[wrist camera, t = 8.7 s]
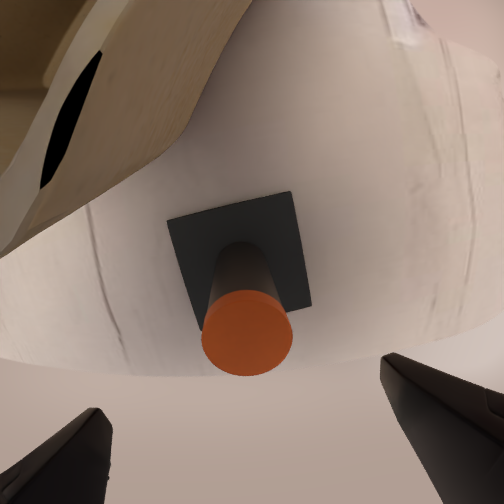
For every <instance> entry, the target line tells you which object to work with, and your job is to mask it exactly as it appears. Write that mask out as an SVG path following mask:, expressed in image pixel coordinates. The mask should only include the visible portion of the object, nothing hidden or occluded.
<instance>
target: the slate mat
mask: <svg viewBox="0 0 504 504" xmlns="http://www.w3.org/2000/svg"><path fill="white" fill-rule="evenodd" d="M167 225H168V229H169V232H170V236H171V239H172V243H173V246H174V250H175V253H176V257H177V260H178V263H179V267H180V270H181V273H182V276H183V279H184V283H185V286H186V289H187V292H188V295H189V298H190V301H191V304H192V307H193V310H194V313H195V316H196V319H197V322H198V325H199V328H200V330H201V331H202V330H203V324H204V319H205V316H206V313H207V309H208V304H209V299H210V293H211V288H212V283H213V277H214V272H215V267H216V262H217V258H218V256H219V254H220V252H221V251H222V250H223V249H224V248H225V247H226V246H228V245H230V244H232V243H235V242H248V243H251V244H253V245H255V246H256V247H258V248H259V249H260V250H261V251H262V253H263V254H264V257H265V259H266V262H267V265H268V268H269V270H270V273H271V276H272V279H273V282H274V284H275V287H276V290H277V293H278V296H279V298H280V301H281V304H282V307H283V308H284V310H285V312H290V311H294V310H298V309H302V308H306V307H310V306H312V303H311V296H310V290H309V284H308V278H307V272H306V267H305V261H304V255H303V250H302V244H301V239H300V234H299V228H298V223H297V218H296V213H295V208H294V203H293V198H292V194H291V191H288V192H283V193H279V194H274V195H269V196H265V197H260V198H256V199H252V200H247V201H243V202H239V203H235V204H230V205H226V206H222V207H218V208H214V209H210V210H206V211H202V212H198V213H194V214H190V215H186V216H183V217H179V218H175V219H171V220H168V221H167Z"/></svg>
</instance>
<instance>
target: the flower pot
mask: <svg viewBox="0 0 504 504" xmlns="http://www.w3.org/2000/svg"><path fill="white" fill-rule="evenodd" d="M252 1H253V0H0V258H2V257H4V256H5V255H7V254H9V253H10V252H11V251H13V250H14V249H16V248H17V247H19V246H20V245H22V244H23V243H25V242H26V241H28V240H29V239H31V238H32V237H34V236H35V235H37V234H38V233H40V232H42V231H43V230H45V229H46V228H48V227H50V226H51V225H53V224H54V223H56V222H58V221H59V220H61V219H63V218H64V217H66V216H68V215H70V214H71V213H73V212H74V211H76V210H77V209H79V208H80V207H82V206H83V205H85V204H87V203H88V202H90V201H91V200H93V199H95V198H96V197H98V196H99V195H101V194H103V193H104V192H106V191H107V190H109V189H110V188H112V187H113V186H115V185H117V184H118V183H120V182H121V181H123V180H124V179H126V178H127V177H129V176H130V175H132V174H133V173H135V172H136V171H138V170H140V169H141V168H143V167H144V166H146V165H147V164H149V163H150V162H152V161H153V160H154V159H156V158H157V157H159V156H160V155H161V154H162V153H163V152H164V151H166V150H167V149H168V148H169V147H170V146H171V145H172V144H173V143H174V142H175V141H176V140H177V139H178V138H179V136H180V135H181V134H182V133H183V131H184V129H185V128H186V126H187V124H188V122H189V120H190V117H191V115H192V113H193V111H194V108H195V106H196V104H197V102H198V100H199V98H200V95H201V93H202V91H203V89H204V87H205V85H206V82H207V80H208V78H209V76H210V74H211V72H212V70H213V68H214V66H215V64H216V62H217V60H218V58H219V56H220V54H221V52H222V50H223V49H224V47H225V45H226V43H227V41H228V39H229V38H230V36H231V34H232V32H233V31H234V29H235V27H236V25H237V24H238V22H239V20H240V19H241V17H242V16H243V14H244V13H245V11H246V10H247V8H248V7H249V5H250V4H251V2H252Z"/></svg>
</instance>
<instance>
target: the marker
mask: <svg viewBox="0 0 504 504" xmlns="http://www.w3.org/2000/svg"><path fill="white" fill-rule="evenodd" d="M292 339H293V334H292V329H291V325H290V322H289V320H288V317H287V314H286V312H285V310H284V308H283V307H282V304H281V301H280V298H279V296H278V293H277V290H276V287H275V284H274V282H273V279H272V276H271V273H270V270H269V268H268V265H267V262H266V259H265V257H264V254H263V253H262V251H261V250H260V249H259V248H258V247H256V246H255V245H253V244H251V243H248V242H235V243H232V244H230V245H228V246H226V247H225V248H224V249H223V250H222V251H221V252H220V254H219V256H218V258H217V262H216V267H215V272H214V277H213V283H212V288H211V293H210V299H209V304H208V309H207V313H206V316H205V319H204V324H203V330H202V336H201V341H202V347H203V350H204V352H205V354H206V356H207V357H208V359H209V360H210V361H211V362H212V363H213V364H214V365H215V366H216V367H218V368H219V369H221V370H223V371H225V372H227V373H230V374H233V375H238V376H254V375H259V374H263V373H265V372H268V371H270V370H272V369H273V368H275V367H276V366H278V365H279V364H280V363H281V362H282V361H283V360H284V359H285V357H286V356H287V354H288V353H289V351H290V348H291V345H292Z"/></svg>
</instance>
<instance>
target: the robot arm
mask: <svg viewBox="0 0 504 504" xmlns="http://www.w3.org/2000/svg"><path fill="white" fill-rule="evenodd" d="M380 380H381V383H382V386H383V388H384V390H385V393H386V395H387V397H388V400H389V402H390V404H391V407H392V409H393V411H394V414H395V416H396V418H397V421H398V422H399V424H400V426H401V428H402V430H403V431H404V433H405V435H406V437H407V438H408V440H409V442H410V443H411V445H412V447H413V449H414V451H415V452H416V454H417V456H418V457H419V459H420V461H421V463H422V465H423V467H424V468H425V470H426V472H427V474H428V476H429V478H430V479H431V481H432V483H433V485H434V487H435V489H436V490H437V492H438V494H439V496H440V498H441V500H442V502H443V504H504V394H502V393H499V392H496V391H493V390H490V389H487V388H486V389H485V388H484V387H482V386H479V385H476V384H473V383H471V382H468V381H466V380H463V379H460V378H458V377H455V376H452V375H450V374H447V373H445V372H442V371H439V370H437V369H434V368H432V367H429V366H427V365H424V364H422V363H419V362H417V361H414V360H412V359H409V358H407V357H404V356H402V355H399V354H397V353H390V354H387V355H384V356H382V357H381V364H380ZM112 433H113V428H112V425H111V423H110V421H109V420H108V418H107V417H106V416H105V414H104V413H103V412H102V410H101V409H100V408H88V409H87V410H85V411H84V412H83V413H81V414H80V415H79V416H78V417H76V418H75V419H74V420H73V421H71V422H70V423H69V424H67V425H66V426H65V427H63V428H62V429H61V430H60V431H58V432H57V433H56V434H55V435H53V436H52V437H50V438H49V439H48V440H46V441H45V442H44V443H43V444H41V445H40V446H39V447H37V448H36V449H35V450H33V451H32V452H31V453H29V454H28V455H27V456H25V457H24V458H23V459H22V460H20V461H19V462H17V463H16V464H15V465H13V466H12V467H10V468H9V469H7V470H6V471H4V472H3V473H1V474H0V504H104V500H105V493H106V487H107V481H108V480H109V478H110V477H109V476H108V475H109V468H110V457H111V445H112Z"/></svg>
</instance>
